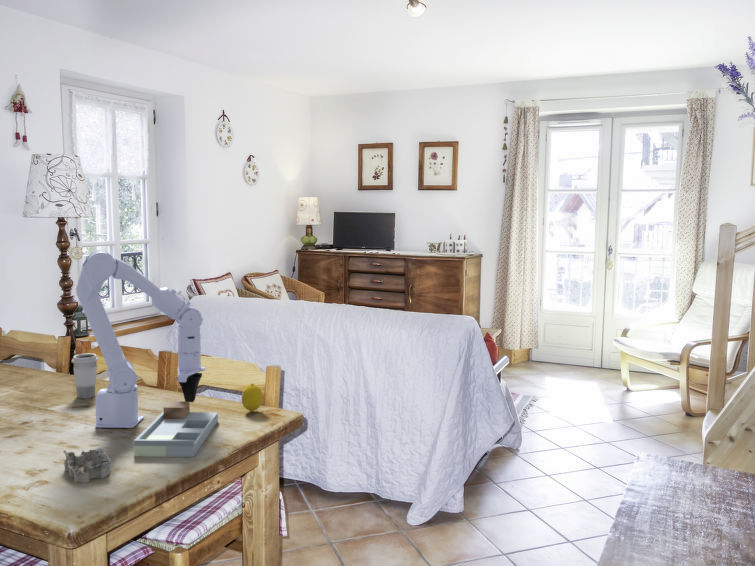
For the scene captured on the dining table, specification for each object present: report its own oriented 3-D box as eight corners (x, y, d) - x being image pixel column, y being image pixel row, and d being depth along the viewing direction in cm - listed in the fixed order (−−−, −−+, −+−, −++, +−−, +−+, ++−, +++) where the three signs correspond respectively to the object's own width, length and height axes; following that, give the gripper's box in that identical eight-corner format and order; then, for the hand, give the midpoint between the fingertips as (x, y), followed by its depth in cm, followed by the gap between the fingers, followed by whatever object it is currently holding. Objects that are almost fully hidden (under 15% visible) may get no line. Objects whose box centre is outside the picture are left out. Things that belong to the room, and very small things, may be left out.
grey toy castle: (62, 468, 126) (61, 449, 126) (100, 460, 131) (99, 442, 130) (73, 486, 118) (73, 466, 117) (114, 476, 123) (113, 457, 122)
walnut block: (163, 419, 150) (163, 407, 149) (169, 412, 155) (169, 401, 154) (183, 419, 150) (183, 407, 150) (189, 412, 155) (189, 401, 155)
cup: (91, 391, 179) (90, 351, 178) (104, 395, 175) (103, 355, 174) (67, 396, 173) (66, 356, 172) (80, 401, 169) (78, 359, 168)
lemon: (257, 416, 161) (257, 387, 160) (238, 414, 162) (238, 385, 161) (265, 409, 166) (265, 381, 165) (246, 408, 167) (246, 380, 166)
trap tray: (134, 456, 133) (133, 440, 132) (167, 420, 155) (166, 407, 155) (193, 456, 133) (193, 441, 133) (217, 421, 156) (217, 408, 155)
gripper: (197, 358, 152) (197, 410, 153) (211, 345, 166) (211, 393, 167) (169, 357, 151) (170, 410, 153) (185, 345, 166) (186, 393, 167)
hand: (190, 401), depth 160 cm, fingers closed
